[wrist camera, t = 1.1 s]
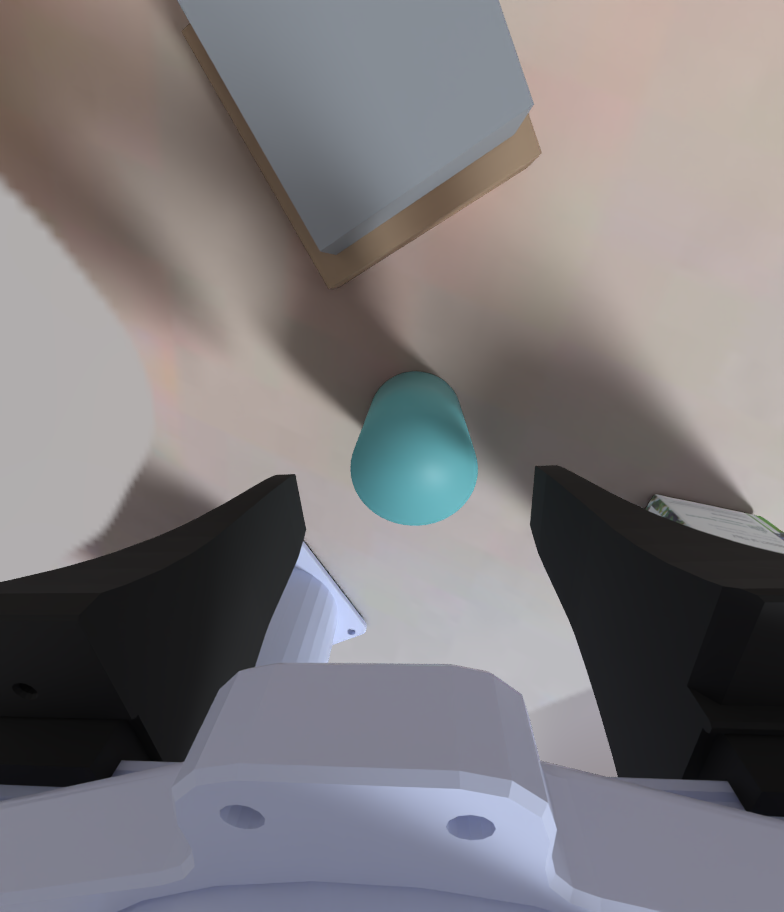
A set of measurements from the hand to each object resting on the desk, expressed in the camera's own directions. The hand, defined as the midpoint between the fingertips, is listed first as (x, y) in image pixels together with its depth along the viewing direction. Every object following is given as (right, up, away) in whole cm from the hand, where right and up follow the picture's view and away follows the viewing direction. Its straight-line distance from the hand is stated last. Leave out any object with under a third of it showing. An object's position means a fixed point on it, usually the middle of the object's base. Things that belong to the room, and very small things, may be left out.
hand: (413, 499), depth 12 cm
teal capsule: (0, +3, +7) cm, 8 cm away
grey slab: (-1, +13, +1) cm, 13 cm away
